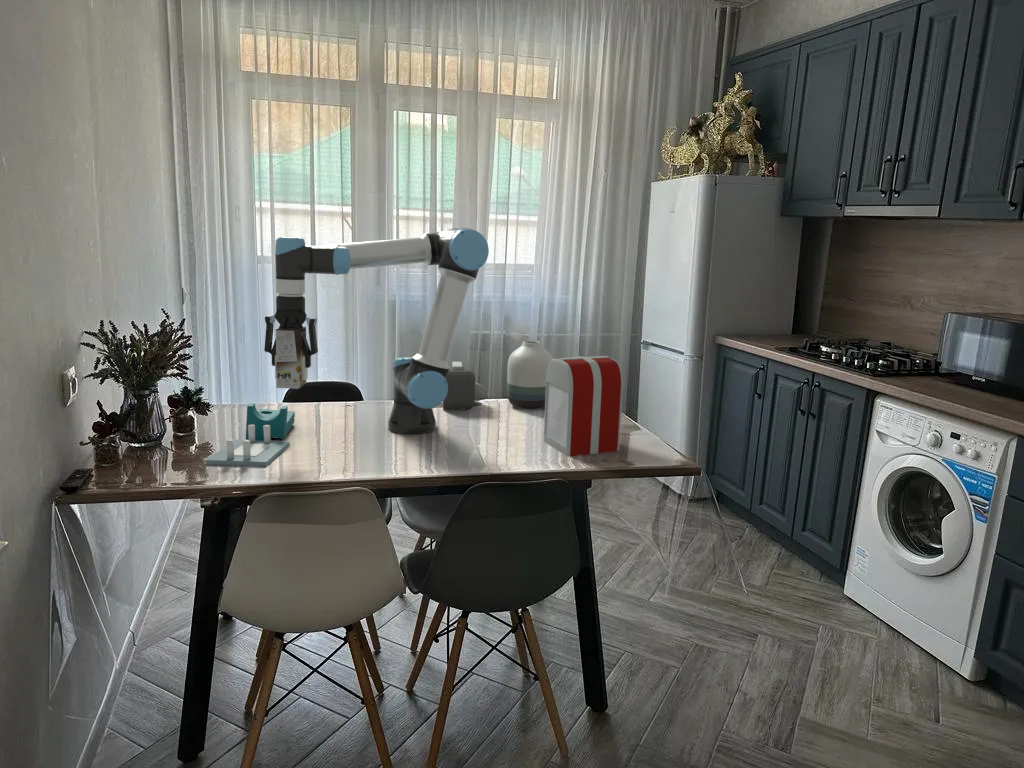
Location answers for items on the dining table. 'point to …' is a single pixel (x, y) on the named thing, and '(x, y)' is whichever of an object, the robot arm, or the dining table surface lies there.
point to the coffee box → (289, 358)
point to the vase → (528, 375)
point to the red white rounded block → (583, 405)
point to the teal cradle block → (269, 421)
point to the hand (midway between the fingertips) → (291, 378)
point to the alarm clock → (460, 387)
